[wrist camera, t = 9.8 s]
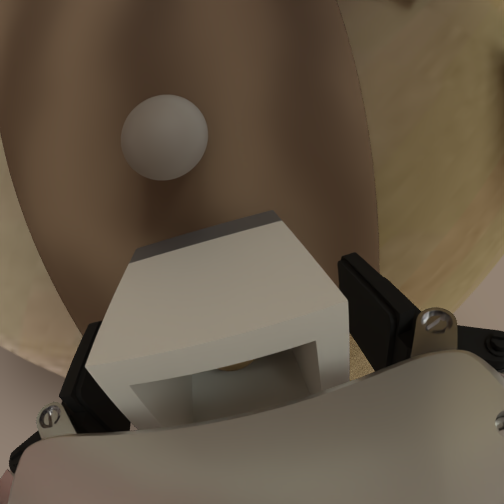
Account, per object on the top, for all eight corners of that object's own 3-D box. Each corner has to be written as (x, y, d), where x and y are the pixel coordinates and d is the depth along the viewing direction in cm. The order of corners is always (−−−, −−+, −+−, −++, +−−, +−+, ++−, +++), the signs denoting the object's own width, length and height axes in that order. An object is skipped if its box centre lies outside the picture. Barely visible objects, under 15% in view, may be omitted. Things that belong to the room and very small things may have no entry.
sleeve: (272, 209, 12) (347, 300, 6) (294, 321, 15) (347, 433, 8) (136, 248, 12) (85, 366, 5) (182, 351, 14) (183, 472, 8)
